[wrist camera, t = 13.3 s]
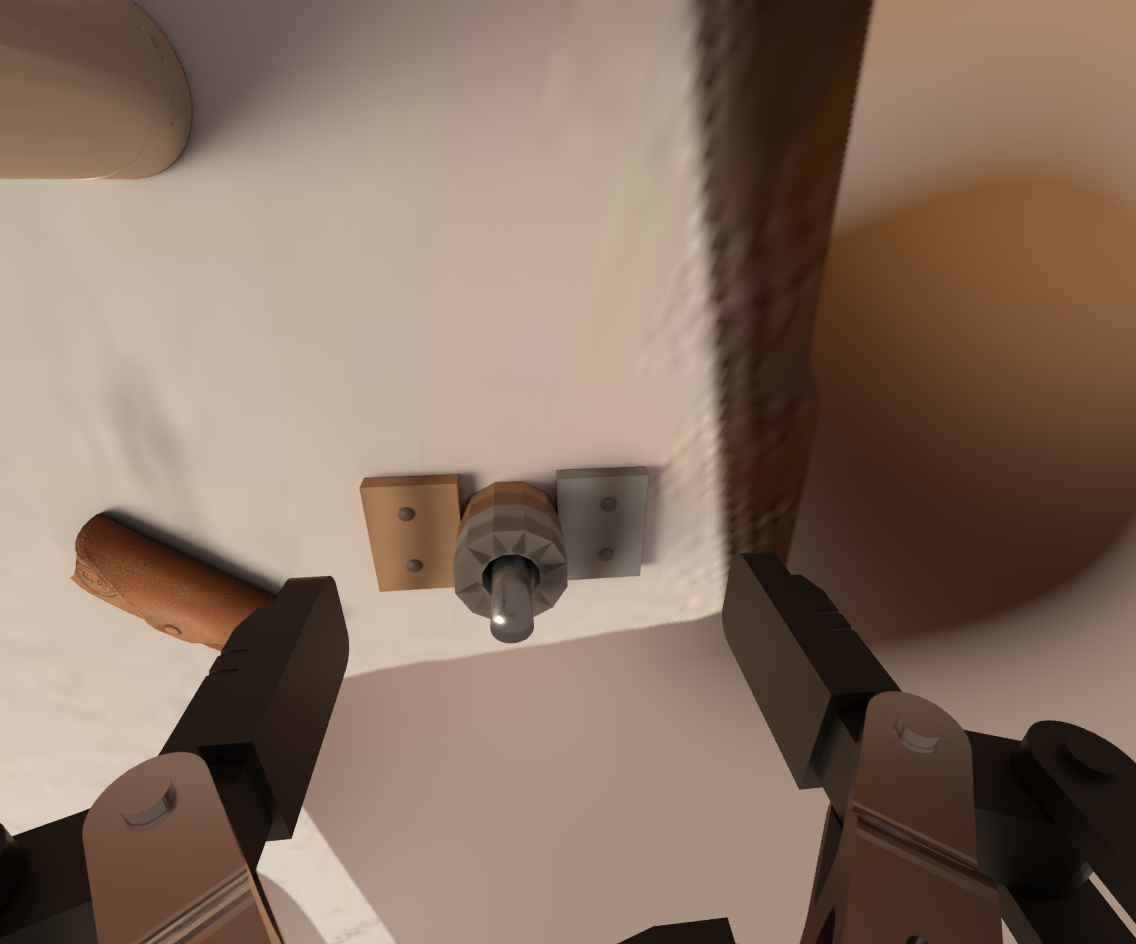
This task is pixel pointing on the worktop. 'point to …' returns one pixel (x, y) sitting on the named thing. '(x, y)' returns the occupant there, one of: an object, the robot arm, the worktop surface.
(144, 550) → the sunglasses case
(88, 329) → the worktop surface
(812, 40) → the worktop surface
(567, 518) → the hinge leaves
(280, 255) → the worktop surface
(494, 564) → the hinge pin
